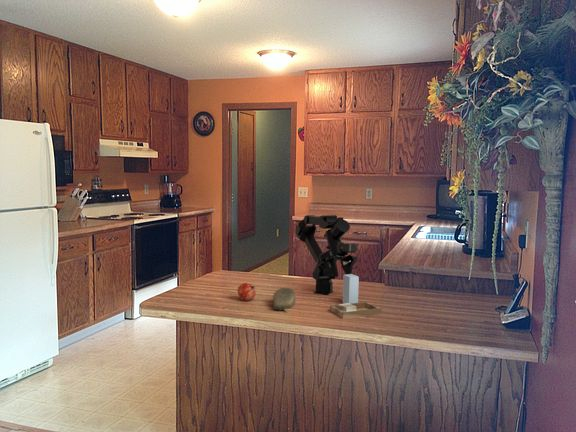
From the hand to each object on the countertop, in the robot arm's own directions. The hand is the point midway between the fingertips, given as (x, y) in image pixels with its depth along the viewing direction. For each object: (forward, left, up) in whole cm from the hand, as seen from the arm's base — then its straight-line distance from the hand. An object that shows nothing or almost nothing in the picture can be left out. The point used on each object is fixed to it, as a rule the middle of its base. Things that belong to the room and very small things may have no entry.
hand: (343, 277), depth 192 cm
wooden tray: (+9, -13, -10) cm, 19 cm away
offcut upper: (+7, -16, -8) cm, 19 cm away
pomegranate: (-36, -15, -11) cm, 41 cm away
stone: (-19, -16, -11) cm, 27 cm away
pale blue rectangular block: (+4, -4, -10) cm, 12 cm away
